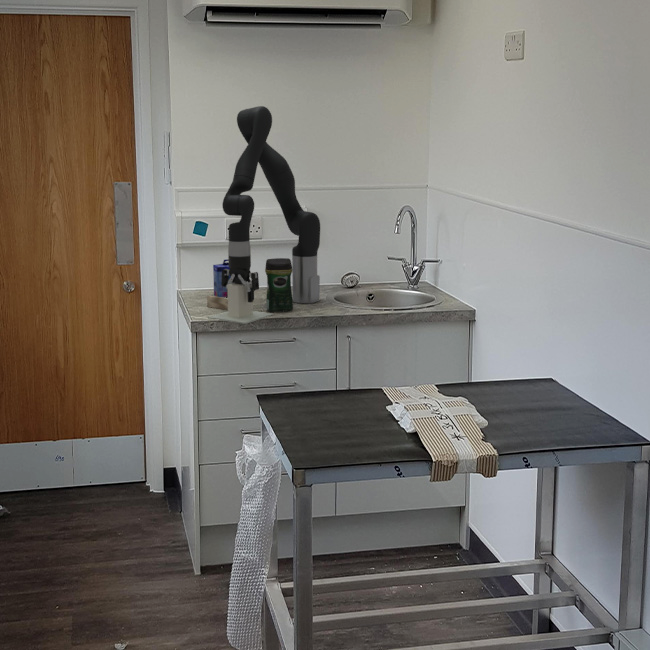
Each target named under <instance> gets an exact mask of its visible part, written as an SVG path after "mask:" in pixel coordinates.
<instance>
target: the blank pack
mask: <svg viewBox="0 0 650 650" xmlns="http://www.w3.org/2000/svg"><path fill="white" fill-rule="evenodd" d="M247 283H248V282H247ZM227 289H228V310H227V311H228V317H233V318H241V317H244V316H248V315H251V314H253V311H254V310H253V305H254V304H253V302H254V301H253V302H248V290H247V288H246V287H245V286H244V285H243V284H239V283H233V284H230V285H227Z"/></svg>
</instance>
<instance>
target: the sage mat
mask: <svg viewBox="0 0 650 650" xmlns="http://www.w3.org/2000/svg"><path fill="white" fill-rule="evenodd" d="M271 315H272V316H274V314H273V313H272V312H271V313H269V312H262V311H256V310H253V314H251V315H248V316H244V317H241V318H233V317H228V310H227V311H226V310H225V311H224V312H220V313H217V314H216V313H215V314H213V315H210V316H207V319H209V318H213V319H212V320H215V319H219V320H218V321H224V322H228V323H229V322H230V323H235V324H241V325H242V324H243V325H247V324H250V323H253V322H255V321H260V320H262V319H266V318H268V317H267V316H269V317H272V316H271ZM265 317H266V318H265Z"/></svg>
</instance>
